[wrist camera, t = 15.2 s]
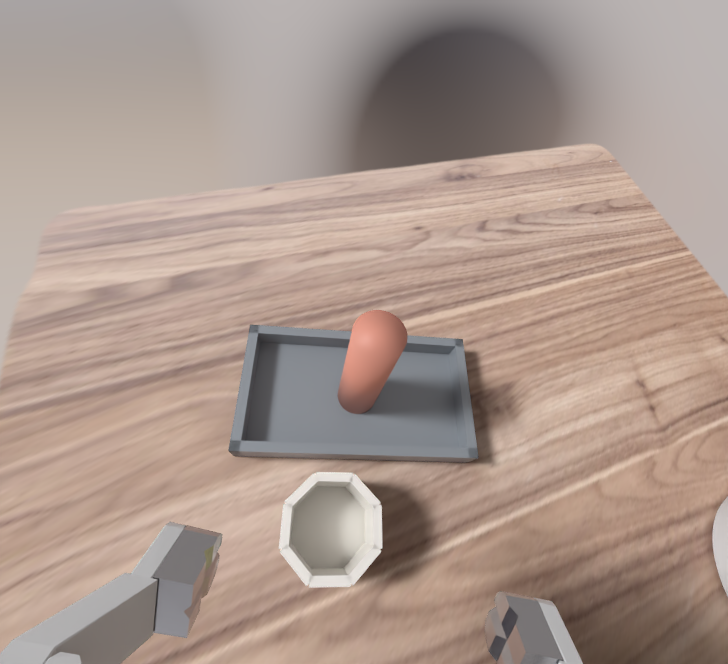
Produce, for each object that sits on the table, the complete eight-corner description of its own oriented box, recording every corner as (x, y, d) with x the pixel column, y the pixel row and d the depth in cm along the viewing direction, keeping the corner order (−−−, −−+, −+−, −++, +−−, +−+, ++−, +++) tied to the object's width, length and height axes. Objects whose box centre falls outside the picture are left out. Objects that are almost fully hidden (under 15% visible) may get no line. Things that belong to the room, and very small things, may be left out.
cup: (370, 480, 31) (381, 473, 26) (370, 576, 27) (383, 586, 23) (289, 478, 30) (286, 471, 25) (280, 577, 27) (275, 587, 22)
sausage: (375, 378, 34) (406, 312, 24) (375, 414, 33) (408, 361, 22) (338, 375, 34) (352, 308, 23) (336, 413, 32) (351, 358, 22)
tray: (453, 350, 37) (462, 339, 35) (466, 462, 32) (478, 458, 30) (253, 337, 35) (250, 324, 33) (234, 456, 30) (228, 450, 28)
